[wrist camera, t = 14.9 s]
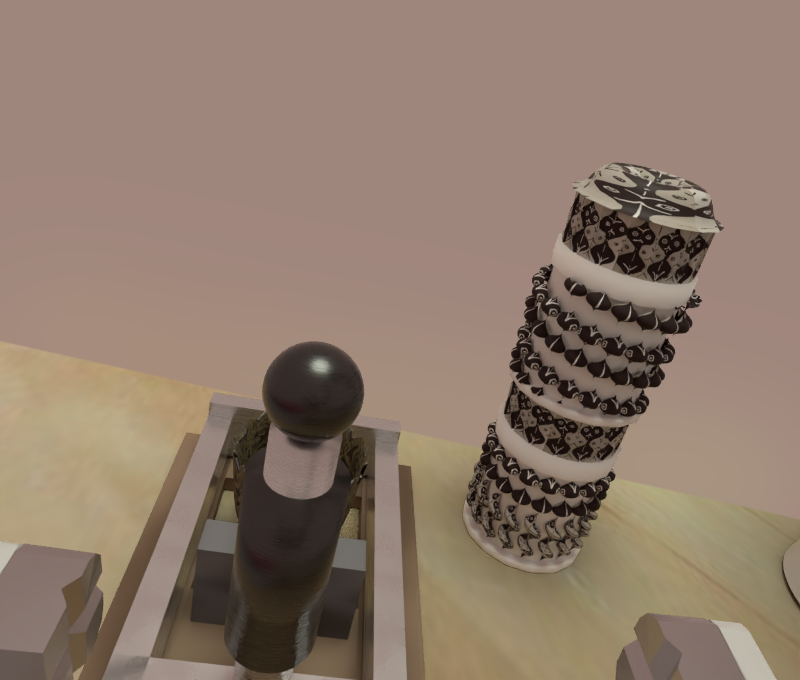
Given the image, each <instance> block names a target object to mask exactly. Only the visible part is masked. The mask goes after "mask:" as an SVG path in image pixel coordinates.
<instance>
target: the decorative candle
mask: <svg viewBox="0 0 800 680" xmlns="http://www.w3.org/2000/svg"><path fill="white" fill-rule="evenodd" d="M573 188H574V189H575V190H576V191H577V192H576V197H575V201H574V204H573V206H572V207H571V210H570V212H569V215H568V220H567V224H566V228H565V230H564V232H563V233H561V234H559V235H558V239H557V241H556V244H555V247H554V251H553V254H552V264H551V265H545V266H543V267H541V269H540V271H539V273H537V274H535V275H534V276H533V278H532V283H533V285H534V287H533V289H532V294H533V295H531V296H529V297H527V298H526V300H525V304H526V306H527V309H526V310H525V312H524V317H525V319H526V322H525V326H522V327H520V328H519V330H518V337H519V339H520V340H519V341H518V342H517V344H516V346H517V347H515V348H513V349H512V351H511V355H512V357H513V358H512V361H511V362H510V365H509V367H510V375H511V377H512V378H513V382H512V383H511V386H510V390H509V395H508V398H507V399H506V400H504V401H503V402H502V405H501V408H500V411H499V414H498V417H497V420H496V422H494V423H491V424H490V425H489V426H488V431H489V434H488V435H487V438H486V442H484V443H483V445H482V450H483V451H484V452H483V453H482V454H481V456H480V461H478V462H477V463H476V464H475V466H474V473H475V474H474V475H473V478H472V480H471V481H470V482H469V486H468V487H469V492H468V494H467V498H466V499H465V503H464V509H463V515H462V517H463V520H464V523H465V525H466V528H467V531H468V533H469V535H470V536H471V537H472V538H473V539H474V541H475V542H476V543H477V544H478V545H479V546H480V547H481V548H482V549H483V551H484V552H486V553H487V554H489V555H491V556H492V557H494V558H495V559H497V560H499V561H500V562H502V563H503V564H505V565H507V566H510V567H513V568H517V569H520V570H523V571H526V572H530V573H555V572H557V571H560V570H562V569H564V568H566V567H569V566H571V565H572V563H573V561H574V560H575V558H576V557H577V555H578V553H579V551H580V549H581V548H582V546H583V543H582V541H581V540H580V537H582V536H583V537H588V536H589V531H590V529H591V525H590V523H589V522H588V520H596V519H597V517H598V515H597V513H596V512H595V511H596V510H598V509H599V508H600V505H601V502H600V500H603V499H605V498H606V495H607V494H606V491H607V490H608V489H609V486H610V484H609V482H611V481H613V480H614V479H615V473H614V471H613V470H612V467H613V466H614V464H615V461H616V459H617V457H618V455H619V453H620V451H621V445H620V443H621V441H622V439H623V437H624V434H625V433H626V430H627V428H628V426H629V424H632V423H636V422H637V421H638V419H639V418H640V416H641V415H642V414H643V413H644V412H645V411H646V408H647V406H648V405H649V399H648V398H647V396H646V395H645V394H644V390H643V389H644V388H647V387H658V386H659V385H660V384H661V381H662V380H663V379H664V377H665V374H664V372H663V371H662V370H661V368H660V367H659V364H661V363H669V362H671V361H672V360H673V357H674V354H675V349H674V347H673V346H672V345H671V344H670V343H669V341H668V339H666V335H667V334H673V335H674V334H677V333H686V332H688V330H689V328H690V327H691V326H692V320H691V319H690V317H689V316H688V315H687V314H686V311H685V310H686V309H688V308H696V307H698V306H699V304H698V303H700V302H701V301H702V300H701V299H699V298H700V296H698V295H695V294H694V293H695V290H694V287H695V285H696V283H697V281H698V277H697V276H696V275H697V273H698V270H699V268H700V266H701V264H702V262H703V259H704V257H705V255H706V253H707V250H708V248H709V246H710V244H711V241H712V239H713V237H714V235H715V232H720V231H721V230H722V229H723V228H724V227H723V226H722V225H721V224H720V223H719V222H718V221H717V220H716V219H715V218H714V213H713V205H712V200H711V197H710V196H709V194H708V193H707V192H706V191H705V190H704V189H703V188H702V187H700V186H698V185H696V184H694V183H692V182H690V181H688V180H685V179H682V178H679V177H677V176H674V175H671V174H668V173H664V172H661V171H658V170H654V169H650V168H646V167H642V166H637V165H632V164H626V163H611V164H606V165H604V166H602V167H600V168H599V169H598V170H596V171H595V172H594V173H593V174H592V175H591V176H590V177H589V178H588V179H587V180H581V181H578V182H574V183H573ZM544 280H545V281H547V282H548V283H547V284H544ZM548 280H549V281H548ZM538 301H539V302H541V305H540V308H539V311H538V306H536V305H537V303H538ZM686 303H687V306H686V309H685V310H684V311H683V310H682V308H685V307H684V305H685V304H686ZM529 333H531V335H530V337H529V338H528V336H529ZM649 374H650V375H649Z"/></svg>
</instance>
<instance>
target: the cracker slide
mask: <svg viewBox="0 0 800 680" xmlns="http://www.w3.org/2000/svg"><path fill="white" fill-rule="evenodd" d="M262 396H263V400H259V399H253V398H247V397H241V396H234V395H228V394H222V393H215V392H214V394H213V396H212V399H211V401H210V407H209V416H208V418H207V421H206V423H205V426H204V428H203V430H202V433H201V435H200V438H199V440H198V443H197V445H196V448H195V450H194V453H193V455H192V458H191V460H190V463H189V465H188V468H187V470H186V473H185V475H184V477H183V480H182V482H181V485H180V487H179V490H178V492H177V495H176V497H175V500H174V502H173V505H172V507H171V510H170V512H169V515H168V517H167V520H166V522H165V525H164V527H163V529H162V532H161V534H160V537H159V539H158V542H157V544H156V547H155V549H154V552H153V554H152V557H151V559H150V562H149V564H148V567H147V569H146V572H145V574H144V576H143V579H142V581H141V584H140V586H139V589H138V591H137V594H136V596H135V599H134V601H133V604H132V606H131V609H130V611H129V614H128V616H127V619H126V621H125V624H124V626H123V628H122V631H121V633H120V636H119V638H118V641H117V643H116V646H115V648H114V651H113V653H112V656H111V658H110V661H109V663H108V666H107V668H106V671H105V673H104V676H103V678H102V680H352V679H343V678H334V677H325V676H316V675H307V674H298V673H293V671H294V667H296V666H297V665H299V664H300V663H302V662H303V661H304V660H305V659H306V658H307V657H308V655H309V654H310V653H311V651H312V649H313V647H314V644H315V640H316V636H317V631H318V627H319V623H320V618H321V614H322V609H323V605H324V601H325V596H326V592H327V587H328V583H329V578H330V574H331V570H332V565H333V561H334V556H335V552H336V548H337V543H338V539H339V534H340V530H341V525H342V521H343V517H344V512H345V508H346V503H347V499H348V495H349V490H350V485H351V477H350V473H349V471H348V469H347V467H346V465H345V464H344V463H343V462H342V461H341V460H340V459H339V458H338V457H339V453H340V448H341V443H342V438H343V437H342V433H343V432H345V431H346V430H347V429H348V428H349V427H350V426H351V428H352V438H360V437H364V439H365V442H366V446H367V453H366V456H369V461H368V465H367V467H366V469H365V472H364V474H363V475H366V476H367V500H366V540H365V541H366V572H365V581H364V622H363V662H362V680H407V668H406V644H405V619H404V595H403V570H402V546H401V521H400V497H399V472H398V448H397V444H398V440H399V436H400V422H397V421H391V420H384V419H378V418H372V417H366V416H359V412H360V410H361V407H362V404H363V398H364V384H363V379H362V376H361V373H360V371H359V369H358V367H357V365H356V364H355V362H354V361H353V360H352V359H351V357H350V356H349V355H348V354H346V353H345V352H344V351H342V350H341V349H339V348H338V347H335V346H333V345H331V344H328V343H324V342H316V341H314V342H313V341H311V342H304V343H300V344H296V345H294V346H292V347H289V348H288V349H286V350H285V351H283V352H282V353H281V354H280V355H279V356H278V357H276V358H275V360H274V361H273V362H272V364H271V365H270V367H269V369H268V370H267V373H266V375H265V378H264V382H263V389H262ZM265 410H266V413H267V415H268V417H269V419H270V420H271V421H272V423H271V425H270V429H269V436H268V443H267V447H265V448H263V449H261V450H259V451H258V452H256V453H255V454H254V455H253V456H252V457H251V458H250V459H249V461H248V463H247V465H246V468H245V475H244V482H243V490H242V498H241V505H240V513H239V521H238V528H237V536H236V544H235V551H234V559H233V566H232V574H231V582H230V589H229V597H228V605H227V612H226V620H225V628H224V640H225V644H226V647H227V649H228V652H229V653H230V655H231V656H232V657H233V658H234V659H235V667H234V666H225V665H216V664H207V663H198V662H188V661H179V660H170V659H161V658H162V655H163V652H164V649H165V646H166V643H167V640H168V637H169V633H170V630H171V627H172V624H173V621H174V618H175V615H176V612H177V609H178V606H179V603H180V600H181V597H182V594H183V591H184V588H185V585H186V582H187V579H188V575H189V572H190V569H191V566H192V563H193V560H194V557H195V554H196V551H197V548H198V545H199V542H200V539H201V536H202V533H203V530H204V527H205V524H206V520H207V517H208V514H209V511H210V508H211V505H212V502H213V499H214V496H215V493H216V490H217V487H218V484H219V481H220V478H221V475H222V472H223V469H224V465H225V462H226V459H227V456H228V455H231V456H233V450H232V446H233V439H234V436H236V441H237V442H238V439H239V437H242V436H243V435H244V432H245V424H246V421H247V420H248V418H252V417H253V418H256V419H257V418H258V417H260V415H261V414H262V413H263V412H264V411H265Z"/></svg>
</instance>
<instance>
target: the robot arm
mask: <svg viewBox="0 0 800 680" xmlns="http://www.w3.org/2000/svg"><path fill="white" fill-rule="evenodd" d="M783 568H784V573H785V577H786V580H787V582H788V584H789V586H790V588H791V590H792V592H793V594H794V596H795V597H796V599H797V600H798V602H799V603H800V538H799V539H798V540H797V541H796V542H795V543H793V544H792V545H791V546H790V547H789V548H788V549H787V551H786V552H785V555H784V559H783ZM101 573H102V565H101V555H99V554H96V553H89V552H81V551H74V550H67V549H59V548H52V547H45V546H38V545H30V544H21V543H13V542H5V541H0V680H73V673H74V672H75V671H76V670H77V669H79V668H80V667H81V666H83V665H84V664H85V663H87V662H88V659H89V657H90V654H91V652H92V649H93V647H94V645H95V642H96V638H97V635H98V631H99V628H100V624H101V620H102V612H103V592H102V591H101V590H100V589H99V588H98V587H97V586H96V583H97V581H98V579H99V577H100V575H101ZM634 630H635V633H636V635H637V638H638V639H637V640H635V641H634V642H632V643H630V644H628V645H627V646H625V647H624V648H623V650H622V652H621V654H620V657H619V659H618V661H617V668H616V680H776V678H775V676H774V674H773V672H772V671H771V669H770V667H769V665H768V664H767V662H766V660H765V658H764V657H763V655H762V653H761V651H760V649H759V648H758V646H757V644H756V642H755V641H754V639H753V637H752V635H751V634H750V632H749V631H748V629H746V628H745V627H744V626H743V625H742V624H741V623H734V622H725V621H716V620H706V619H702V618H692V617H681V616H671V615H660V614H650V613H647V614H645V615H644V616H642V617H640V619H639V620H638V622H637V624H636V626H635V627H634Z"/></svg>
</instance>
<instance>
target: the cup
mask: <svg viewBox="0 0 800 680" xmlns="http://www.w3.org/2000/svg"><path fill="white" fill-rule="evenodd" d="M271 423H272V421H271V420H270V419H269V417H268V415H267V413H266V410H265V411H264V412H263V413H262V414H261V415H260V417H258V418H257V419H256V418H253V417H252V418H248V420H247V421H246V424H245V432H244V435H243V436H242V437H239V439H238V442H237V441H236V436H234V439H233V446H232V450H233V481H234V500H235V507H236V513H237V517H238V520H239V513H240V505H241V498H242V490H243V482H244V475H245V468H246V465H247V463H248V461H249V459H250V458H251V457H252V456H253V455H254V454H255V453H256V452H258V451H259V450H261V449H263V448H265V447H267V443H268V436H269V429H270V425H271ZM342 437H343V438H342V443H341V448H340V453H339V457H338V458H339V459H340V460H341V461H342V462H343V463H344V464H345V465H346V467H347V469H348V471H349V473H350V477H351V485H350V490H349V495H348V499H347V503H346V508H345V512H344V517H343V521H342V525H343V523H344V521H345V519H346V517H347V515H348V513H349V510H350V508H351V506H352V503H353V501H354V498H355V496H356V493H357V491H358V488H359V485H360V483H361V480H362V477H363V474H364V472H365V469H366V467H367V465H368V461H369V456H366V453H367V446H366V442H365V439H364V437H360V438H352V428H351V426H350V427H349V428H348V429H347V430H346V431H345V432H343V433H342ZM342 525H341V527H342Z"/></svg>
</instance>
